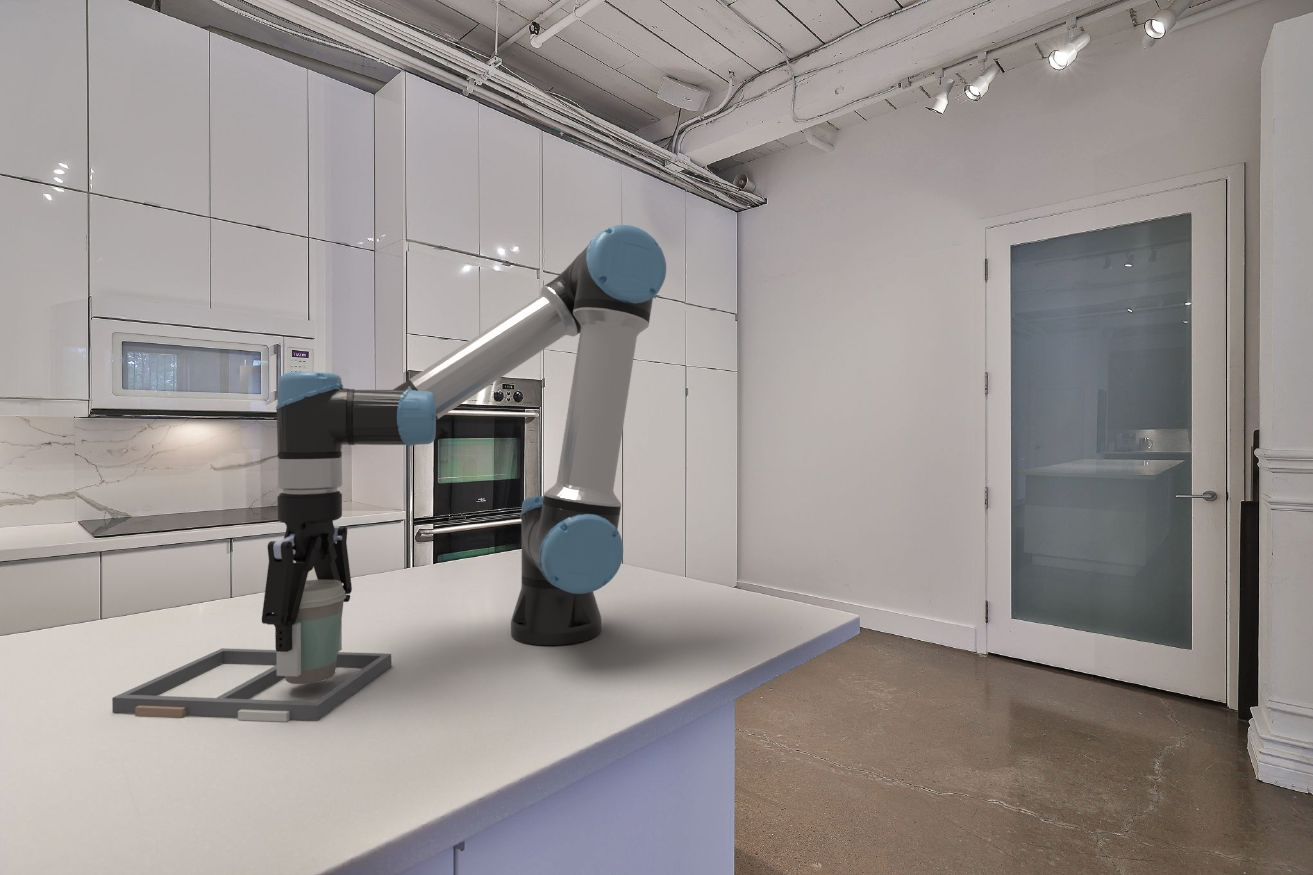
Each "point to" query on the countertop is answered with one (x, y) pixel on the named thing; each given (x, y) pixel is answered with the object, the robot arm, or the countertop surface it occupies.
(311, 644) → the coffee cup
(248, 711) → the divided tray
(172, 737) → the countertop surface
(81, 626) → the countertop surface
